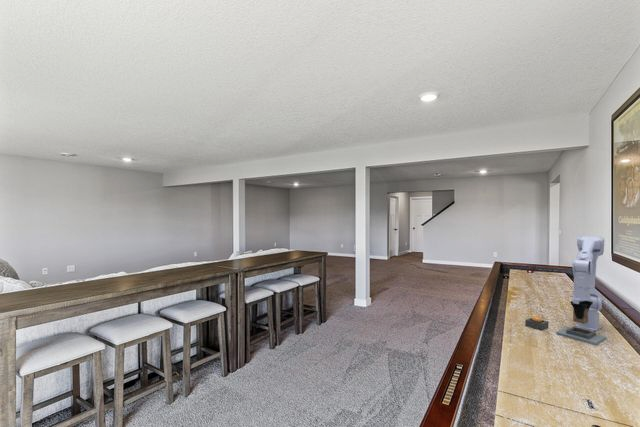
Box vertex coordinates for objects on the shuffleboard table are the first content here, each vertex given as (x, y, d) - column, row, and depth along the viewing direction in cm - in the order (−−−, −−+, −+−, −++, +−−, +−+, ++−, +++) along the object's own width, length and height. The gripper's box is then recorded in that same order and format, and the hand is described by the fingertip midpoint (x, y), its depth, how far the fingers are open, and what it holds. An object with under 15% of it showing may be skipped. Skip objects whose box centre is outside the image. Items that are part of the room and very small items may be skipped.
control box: (531, 323, 157) (532, 317, 157) (548, 327, 151) (548, 321, 151) (525, 326, 153) (525, 319, 153) (541, 330, 147) (542, 324, 147)
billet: (576, 319, 143) (576, 306, 144) (587, 322, 140) (587, 308, 140) (573, 321, 141) (573, 307, 141) (584, 323, 138) (584, 310, 138)
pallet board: (567, 328, 150) (567, 323, 150) (606, 339, 138) (606, 333, 138) (556, 334, 143) (556, 328, 143) (596, 345, 131) (596, 339, 131)
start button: (534, 319, 155) (534, 315, 155) (543, 322, 151) (543, 318, 151) (530, 321, 152) (530, 317, 152) (539, 323, 149) (539, 319, 149)
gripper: (577, 283, 148) (576, 312, 148) (564, 287, 140) (563, 317, 140) (596, 286, 142) (595, 317, 142) (584, 290, 134) (583, 322, 134)
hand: (581, 317), depth 140 cm, fingers closed on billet, 4 cm apart
